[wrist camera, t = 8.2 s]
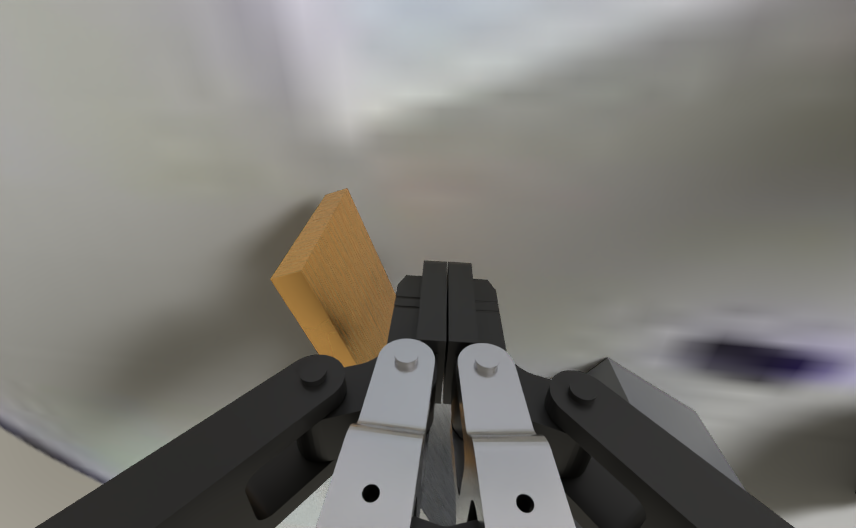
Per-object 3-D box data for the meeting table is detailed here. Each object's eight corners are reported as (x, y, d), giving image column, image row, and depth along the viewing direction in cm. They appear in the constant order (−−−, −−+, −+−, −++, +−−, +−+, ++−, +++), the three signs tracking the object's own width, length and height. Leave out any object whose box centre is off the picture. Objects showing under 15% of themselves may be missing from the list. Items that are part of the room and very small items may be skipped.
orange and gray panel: (481, 456, 24) (497, 632, 17) (462, 458, 24) (470, 634, 17) (360, 171, 14) (286, 311, 7) (331, 180, 14) (233, 324, 8)
